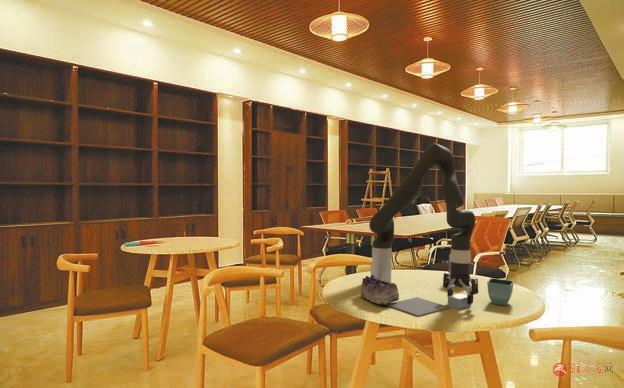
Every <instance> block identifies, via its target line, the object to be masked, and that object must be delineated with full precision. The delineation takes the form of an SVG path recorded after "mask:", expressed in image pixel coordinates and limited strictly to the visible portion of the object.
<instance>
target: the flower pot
mask: <svg viewBox="0 0 624 388" xmlns="http://www.w3.org/2000/svg"><path fill="white" fill-rule="evenodd" d="M486 284H487V295H488V297H489V300H490V302H491V303H492V304H493V305H500V306H507V305H508V303H509V301H510V299H511V297H512V294H513V290H514V289H513V287H514V280H509V279H500V278H494V277H493V278H492V277H490V278H489V279H488V281H487V283H486Z"/></svg>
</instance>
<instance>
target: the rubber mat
mask: <svg viewBox="0 0 624 388" xmlns="http://www.w3.org/2000/svg"><path fill="white" fill-rule="evenodd" d="M385 306H387V307H389V308H391V309H394V310H398V311H401V312H404V313H407V314H409V315H412V316H414V315H415V316H414V317H417V316H418V317H419V316H420V317H423V315H424V316H427V315H430V314H434V313H438V312H442V311H445V310H450V308H451V307H449V306H448V305H444V304H441V303H438V302H434V301H431V300H428V299H425V298H421V297H418V296H416V297H412V298H407V299H403V300H397V301H394V302H391V303H389V304H387V305H385Z"/></svg>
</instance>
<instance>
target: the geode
mask: <svg viewBox="0 0 624 388" xmlns="http://www.w3.org/2000/svg"><path fill="white" fill-rule="evenodd" d="M361 282H362V283H361V293H360V297H361V298H362V299H363V298H364V299H366V300H368V301H370V302H371V303H375V304H378V305H382V306H386V305H387V304H389V303H394V302H398V301H400V293H399V288H398V285H397V284H396V283H393V282H391V283H389V282H384V281H381V280H378V279H377V278H375V277H374V276H373V275H372V276H371V275H370V276H368V275H365V277H362V281H361Z"/></svg>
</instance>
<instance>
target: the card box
mask: <svg viewBox="0 0 624 388" xmlns="http://www.w3.org/2000/svg"><path fill="white" fill-rule="evenodd" d="M467 295H468V294H463V293H457V294H453V295H452V296H448V297H447V306H448V307H450V308H451V309H452V308H453V309H457V310H462V309H465V308H469V307H471V306H472V304H471V305H468V304H467Z"/></svg>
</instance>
